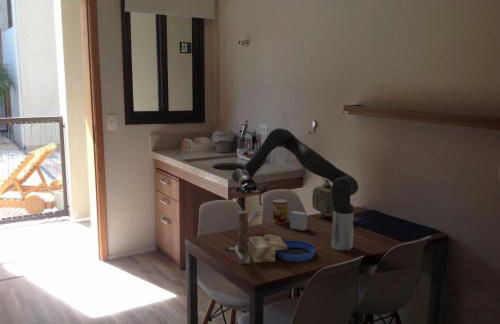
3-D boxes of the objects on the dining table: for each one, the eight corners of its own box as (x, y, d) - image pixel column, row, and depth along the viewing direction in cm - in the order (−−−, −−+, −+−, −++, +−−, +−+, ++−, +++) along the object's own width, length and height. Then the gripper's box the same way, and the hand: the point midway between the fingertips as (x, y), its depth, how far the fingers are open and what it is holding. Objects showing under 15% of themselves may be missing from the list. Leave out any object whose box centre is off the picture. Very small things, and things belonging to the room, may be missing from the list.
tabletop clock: (339, 219, 254) (341, 176, 250) (327, 221, 249) (329, 177, 245) (322, 213, 266) (324, 171, 262) (310, 215, 261) (312, 173, 257)
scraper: (240, 263, 187) (241, 217, 184) (235, 251, 202) (235, 207, 198) (250, 263, 188) (250, 216, 185) (243, 250, 202) (244, 207, 199)
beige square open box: (254, 262, 189) (254, 247, 188) (248, 250, 202) (248, 236, 201) (286, 260, 191) (287, 246, 190) (278, 249, 205) (278, 235, 204)
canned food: (276, 224, 242) (276, 202, 241) (270, 220, 250) (270, 199, 248) (289, 223, 245) (290, 201, 243) (283, 219, 253) (283, 198, 251)
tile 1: (270, 246, 189) (270, 244, 189) (268, 243, 193) (268, 241, 193) (279, 245, 190) (280, 243, 190) (277, 242, 194) (277, 240, 194)
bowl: (300, 245, 211) (300, 238, 211) (323, 258, 195) (323, 250, 195) (266, 251, 203) (266, 243, 202) (287, 265, 187) (288, 257, 187)
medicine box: (306, 229, 236) (307, 212, 234) (303, 231, 232) (303, 214, 231) (293, 226, 240) (294, 210, 239) (289, 228, 236) (290, 212, 235)
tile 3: (266, 239, 198) (266, 237, 198) (264, 236, 202) (264, 234, 202) (274, 239, 199) (274, 237, 199) (272, 236, 203) (272, 234, 202)
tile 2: (270, 242, 194) (270, 240, 194) (268, 239, 198) (268, 237, 198) (279, 242, 195) (279, 240, 195) (277, 239, 199) (277, 237, 198)
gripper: (233, 176, 221) (238, 183, 205) (261, 176, 224) (268, 183, 208) (232, 191, 222) (237, 199, 207) (260, 191, 225) (268, 199, 209)
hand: (253, 191), depth 207 cm, fingers open, 8 cm apart
